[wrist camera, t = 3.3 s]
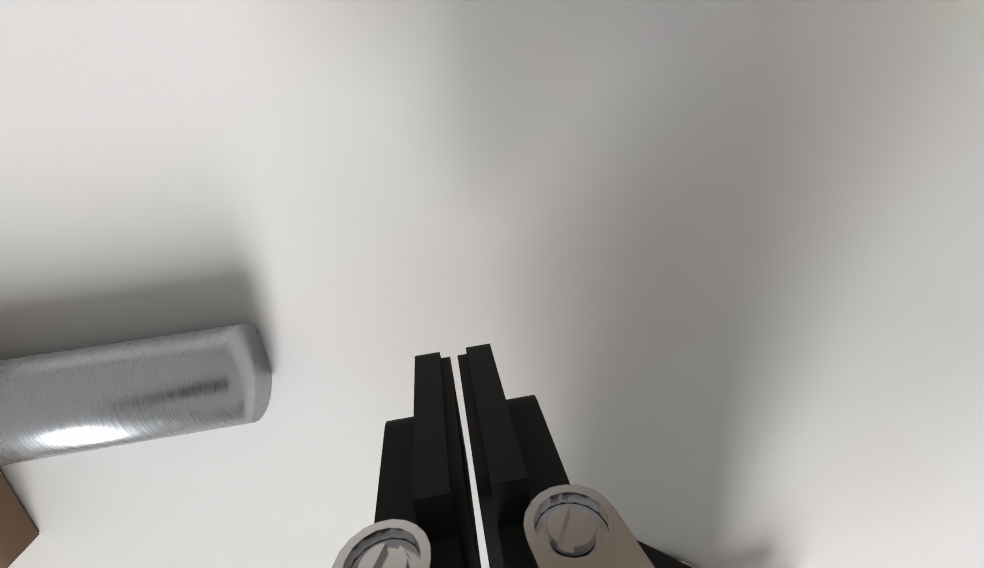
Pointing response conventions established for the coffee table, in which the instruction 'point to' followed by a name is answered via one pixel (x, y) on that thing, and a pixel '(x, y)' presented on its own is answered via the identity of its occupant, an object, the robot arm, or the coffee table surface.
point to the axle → (131, 392)
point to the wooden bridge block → (13, 525)
